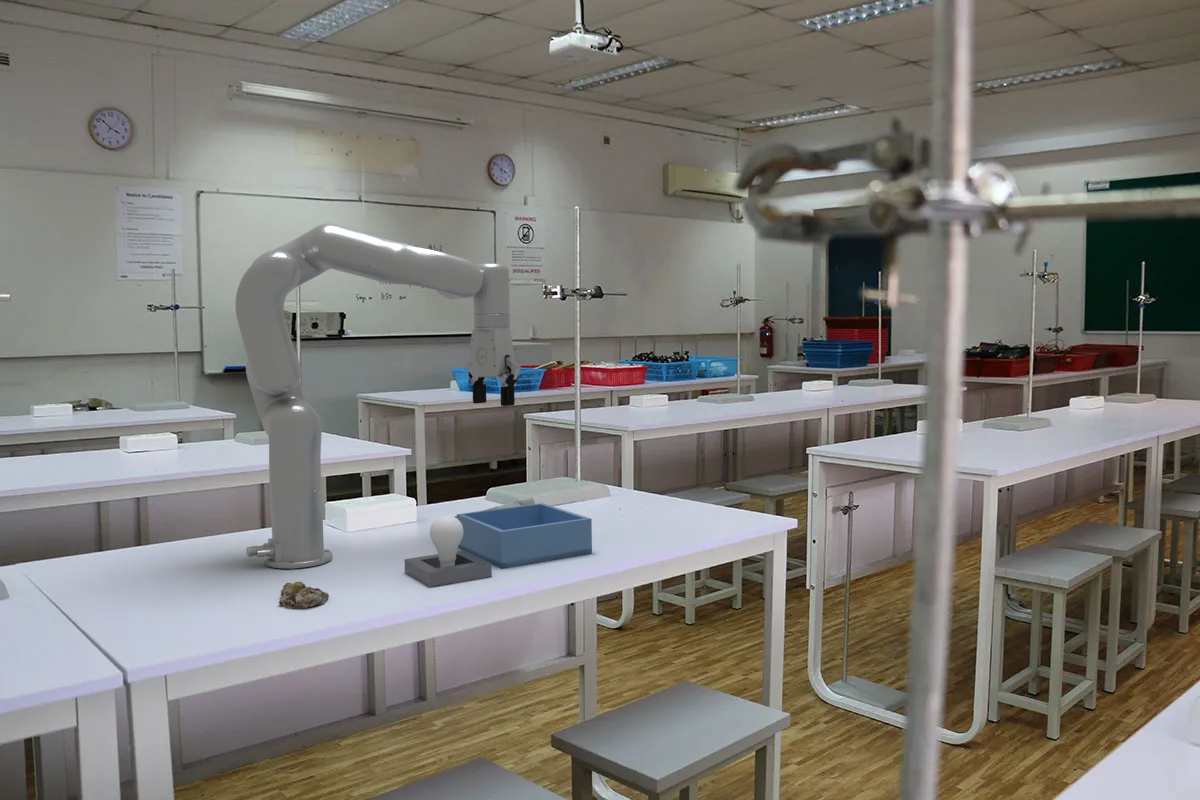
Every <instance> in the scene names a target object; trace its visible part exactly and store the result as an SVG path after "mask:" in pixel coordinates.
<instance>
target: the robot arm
mask: <svg viewBox="0 0 1200 800" xmlns="http://www.w3.org/2000/svg"><path fill="white" fill-rule="evenodd" d="M330 269H332V270H335V271H337V272H338V271H339V272H343V273H345V274H349V275H354V276H357V277H361V278H366V279H369V280H373V281H376V282H380V283H385V284H390V285H405V286H407V285H408V286H416V287H417V286H418V287H421V288H425V289H426V288H427V289H431V290H435V291H436V292H437V293H438V294H439V296H442V297H443V298H446V299H448V300H449V299H450V300H458V299H459V300H460V299H467V298H473V299H472V301H473V329H472V332H471V336H470V337H471V338H470V345H469V346H470V347H469V361H468V362H467V363H466V369H467V372H468V375H467V376H468V377H469V379H470V383H471V386H472V404H485V403H487V384H486V383H485V381H486V380H487V378H497V377H498V379H499V382H500V383H501V386H500V405H501V407H510V406H515V401H516V400H515V387H516V386H517V381H518V380H519V377H520V376H519V374H520V372H521V368H522V367H521V364H520V363H518V362H517V361H516V360H515V355H514V345H513V344H514V343H513V338H512V337H513V335H512V331H511V316H510V313H511V312H510V310H511V308H510V301H511V300H510V270H509V267H508V266H507V265H506V264H503V263H495V262H493V263H492V262H491V263H479V264H476V263H475V262H472V261H471V260H469V259H465V258H462V257H458V256H456V255H451V254H448V253H445V252H440V251H437V250H434V249H433V250H432V249H428V248H423V247H419V246H416V245H411V244H409V243H404V242H401V241H400V242H399V241H396V240H392V239H388V238H384V237H381V236H377V235H374V234H370V233H367V232H364V231H363V232H362V231H359V230H356V229H353V228H349V227H346V226H342V225H339V224H334V223H324V224H323V223H322V224H319V225H317V226H315V227H314V228H311V229H310V230H308V231H307V232H305V233H303V234H302V235H300V236H298V237H296V238H295V239H293V240H290V241H288V242H287V243H285V244H283V245H281V246H278V247H276V248H274V249H272V250H269V251H267V252H264V253H262V254H261V255H259V256H258V257H257V258H255V259H254V260H253V262H252V263H251V265H250V266H249V267H248V269H247V270H246V271H245V272H244V274H243V275H242V278H241V280H240V281H239V285H238V287H237V291H236V295H235V303H234V305H235V314H236V315H235V316H236V320H237V323H238V328H239V332H240V336H241V339H242V344H243V346H244V349H245V353H246V357H247V360H246V365H245V373H246V377H247V379H246V380H247V381H248V385H249V389H250V392H251V395H252V398H253V401H254V404H255V407H256V410H257V413H258V416H259V419H260V422H261V425H262V428H263V430H264V433H265V434H266V435H267V436H268V471H269V472H268V473H269V474H268V475H269V476H268V477H269V478H268V479H269V491H270V493H269V494H270V495H269V498H270V516H271V517H270V518H271V520H270V521H271V537H272V538H268V540H267V542H264V543H263V544H262V545H253V546H247V547H246V556H247V558H251V557H256V558H264V564H265V565H266V567H267V566H268V567H270V568H274V569H285V570H286V569H302V568H309V567H310V568H311V567H314V566H320V565H323V564H326V563H328V562H330V561H331V560H332V559H333V551H331V550H329V549H327V548H325V547H324V545H325V543H324V521H323V520H324V518H323V513H324V512H323V494H322V493H323V491H322V490H323V489H322V469H321V467H322V466H321V456H322V455H321V454H322V453H321V452H322V424H321V420H320V419H321V418H320V416H319V414H318V412H317V411H316V409H315V408H314V407H313V406H312V405H310V404H309V403H308V402H307V400H306V397H305V393H304V391H303V386H302V384H301V381H300V380H301V376H302V367H301V362H300V361H299V358H298V355H297V353H296V350H295V347H294V344H293V340H292V338H291V334H290V331H289V327H288V323H287V319H286V316H285V309H284V308H285V306H284V305H285V301H286V298H287V296H288V294H289V293H291V292H292V291H294V289H296V288H297V287H299V286H301V285H303V284H305V283H307V282H309V281H311V280H313V279H314V278H316V277H318V276H320V275H322V274H323V273H326V272H327V271H329V270H330Z"/></svg>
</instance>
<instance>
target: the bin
mask: <svg viewBox="0 0 1200 800" xmlns="http://www.w3.org/2000/svg"><path fill="white" fill-rule="evenodd" d="M484 510H485V511H482V510H478V511H471V512H470V511H469V512H462V513H457V514H456V516H457V519H458V520H459V521H460V522H461V524H462V526H463V530H464V533H463V538H462V540H461V542H460V544H459V546H458V549H460V551H461V550H465V551H467V552H469V553H471V554H473V555H475V556H477V557H480V558H482V559H484V560H486V561H488V562H490V563H492V565H493V566H495V567H497V568H500V569H508V568H512V567H513V566H514V567H519V566H518V565H520V566H525V565H524V564H526V565H530V564H531V563H532V564H538V563H544V562H549V561H554V560H560V559H567V557H568V558H572V557H573V556H574V557H579V556H578V555H580V556H583V555H584V556H586V555H591V554H593V539H592V538H593V534H592V533H593V532H592V530H593V529H592V522H593V521H592V518H590V517H587V516H584V515H581V514H578V513H576V512H572V511H569V510H567V509H566V510H565V509H562V508H559V507H556V506H553V505H550V504H547V503H543V502H540V503H535V504H531V505H523V506H516V507H508V508H500V509H493V510H486V509H484ZM574 557H573V558H574ZM532 564H531V565H532Z"/></svg>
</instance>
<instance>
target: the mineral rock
mask: <svg viewBox="0 0 1200 800" xmlns="http://www.w3.org/2000/svg"><path fill="white" fill-rule="evenodd" d="M280 596H281V598H280V600H279V602H278V604H279V605H280V606H281V607H283V608H287V609H290V608H291V610H294V609H298V608H299V609H306V608H311V607H314V606H323V605H324V604H326V603H327V601H328V600H329V598H330V597H329V596H330V595H329V593H328V592H325V591H323V590H321V589H320V587H319V588H318V587H316V588H314V587H311V586H306V584H305V583H303V581H296V582H293V583H291V582H286V583H285V584H284V585H283V586H282V588H281V590H280ZM325 602H326V603H325Z"/></svg>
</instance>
